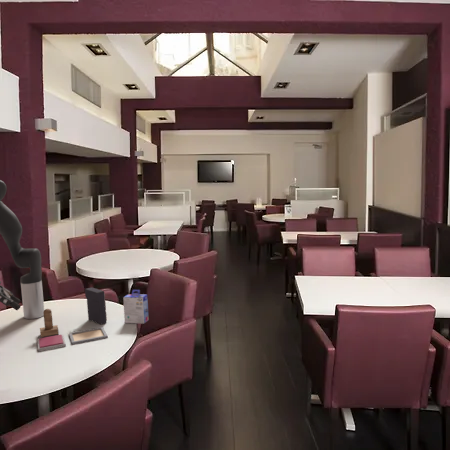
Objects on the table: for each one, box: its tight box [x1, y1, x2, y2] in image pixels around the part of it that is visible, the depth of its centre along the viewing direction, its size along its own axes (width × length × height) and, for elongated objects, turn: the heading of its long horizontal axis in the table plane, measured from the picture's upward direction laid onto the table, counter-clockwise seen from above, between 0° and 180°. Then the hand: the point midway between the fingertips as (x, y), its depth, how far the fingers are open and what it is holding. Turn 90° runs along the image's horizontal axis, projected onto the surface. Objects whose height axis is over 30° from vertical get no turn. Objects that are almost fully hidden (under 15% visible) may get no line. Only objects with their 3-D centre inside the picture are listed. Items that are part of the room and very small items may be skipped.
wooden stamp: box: [39, 308, 60, 338], centre depth 184 cm, size 5×7×12 cm
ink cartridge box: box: [122, 289, 150, 325], centre depth 196 cm, size 10×6×14 cm, turn 78°
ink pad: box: [36, 334, 67, 352], centre depth 174 cm, size 11×10×2 cm
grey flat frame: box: [68, 326, 108, 345], centre depth 181 cm, size 12×14×1 cm
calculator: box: [84, 286, 108, 325], centre depth 199 cm, size 11×4×15 cm, turn 47°
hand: (19, 305), depth 178 cm, fingers open, 8 cm apart
